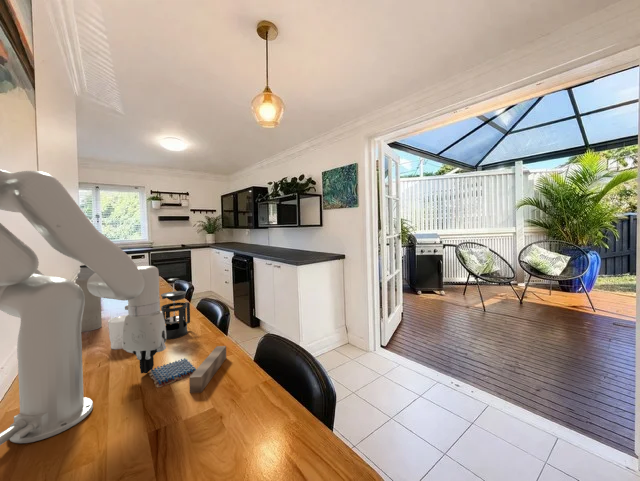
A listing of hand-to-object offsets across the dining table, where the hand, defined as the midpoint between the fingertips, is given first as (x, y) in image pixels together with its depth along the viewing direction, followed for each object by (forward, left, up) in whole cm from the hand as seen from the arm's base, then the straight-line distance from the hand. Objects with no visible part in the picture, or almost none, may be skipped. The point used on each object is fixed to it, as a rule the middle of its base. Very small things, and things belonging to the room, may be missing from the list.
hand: (147, 370), depth 74 cm
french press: (+30, +8, -1) cm, 31 cm away
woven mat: (0, -8, -2) cm, 8 cm away
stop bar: (0, -18, -1) cm, 19 cm away
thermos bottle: (+38, +50, -1) cm, 63 cm away
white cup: (+20, +22, -1) cm, 30 cm away
